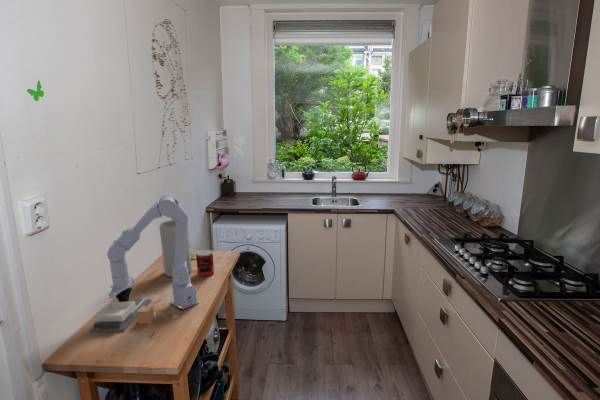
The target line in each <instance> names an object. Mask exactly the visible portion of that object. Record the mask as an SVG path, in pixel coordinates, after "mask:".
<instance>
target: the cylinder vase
mask: <svg viewBox="0 0 600 400" xmlns="http://www.w3.org/2000/svg"><path fill="white" fill-rule="evenodd" d="M175 231H176V222H175V221H173V220H172V219H171V220H167V221H163V222H161V223H159V233H160V234H159V235H160V242H161V243H160V245H161V251H162V259H163V268H164V274H165V276H167V277H169V278H172V277H173V273H172V268H173V266H174V264H175ZM189 246H190V238H189V229H188V230H187V267H188V274H190V273H191V271H192V268H193V267H192V261H191V260H192V259H191V258H190V255H191V250H190V248H191V247H189Z"/></svg>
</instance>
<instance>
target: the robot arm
mask: <svg viewBox="0 0 600 400" xmlns="http://www.w3.org/2000/svg"><path fill="white" fill-rule="evenodd" d="M162 216H164V217H166V218H167V217H168V218H169V219H171V220H173V221H175V222H176V231H175V264H174V266H173V268H172V273H173V277H171V287H172V295H173V296H172V297H173V300H170V301H169V303H170V304H171V305H173V306H174V305H175V306H174V307H176V306H181V307H182V309H183V310H185V309H187V308H191V307H192V306H194V305H198V304H199V302H200V301H199V300H197V290H196V288H195V286H194V285H193V284H192V283H191V282H192V281H191V278H190V273H188V267H187V230H188V231H189V229H188V227H189V226H188V224H189V223H188V221H189V217H188V214H187V212H186V211H185V210H184V208H183V207H182V205H181V203H180V202H179V200H177V199H176V198H175V197H173V196H172V195H170V194H169V195H168V194H166V195H163V196H161V197H160V199H159V200H158V201H156V202H155V203H154V204H152V205H151V207H149V209H148V210H147V211H146V212H145V213H144V214H143V216H142V217H141V218H140V219H139V220H138V221H137V222H136V224H134V226H133V227H128V228H126V229H123V230H122V231H121V235H120V236H119V237H118V238H117V240H116V239H115V240H114V241H113V243H112V244H111V245H110V246H109V249H108V251H107V255H106V256H107V258H108V260H109V263H110V264H109V266H110V272H111V273H110V274H111V281H112V284H111V285H110V289H111V291H110V293H108V298H109V300H115V299H116V298H117V300H118V302H129V299H130V295H131V294H132V293H131V292H132V290H133V289H132V287H131V285H132V283H134V282H135V279H134V278H135V277H134V276H131V277H130V275H129V269H128V262H127V258H126V253H127V252H128V251H130V250H131V249H132V247H134V245H135V244H136V243H137V242H138V241H139V240H141V233H142V232H143V230H144V229H146V228H147V227H148V226H149V224H151V223H152V222H153V220H155V219H160V218H162Z"/></svg>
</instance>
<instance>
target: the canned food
mask: <svg viewBox="0 0 600 400" xmlns="http://www.w3.org/2000/svg"><path fill="white" fill-rule="evenodd" d="M195 257H196V259H195V260H196V268H197V275H198V276H199V277H203V278H207V277H210V276H213V275H214V273H215V265H214V253H213V250H211V249H201V250H198V251H196V252H195Z"/></svg>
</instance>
